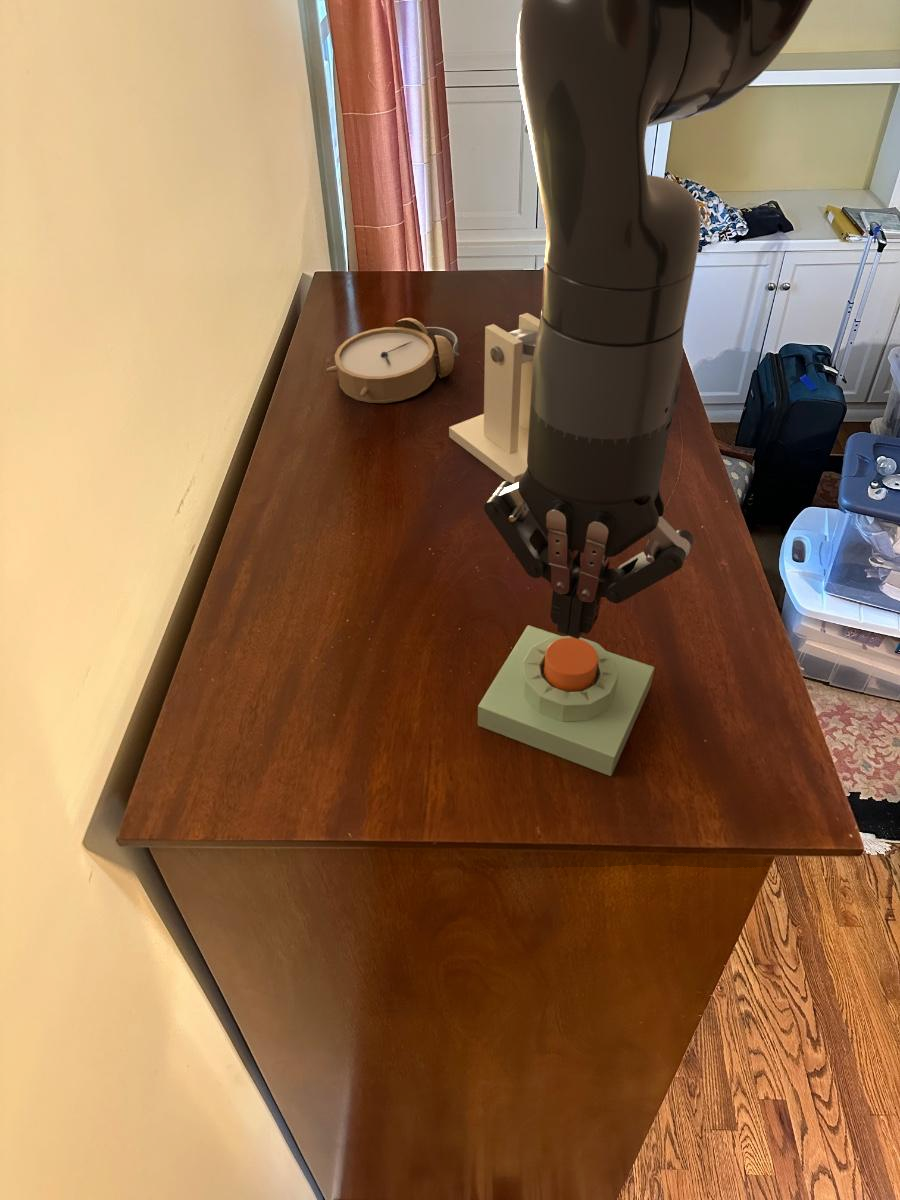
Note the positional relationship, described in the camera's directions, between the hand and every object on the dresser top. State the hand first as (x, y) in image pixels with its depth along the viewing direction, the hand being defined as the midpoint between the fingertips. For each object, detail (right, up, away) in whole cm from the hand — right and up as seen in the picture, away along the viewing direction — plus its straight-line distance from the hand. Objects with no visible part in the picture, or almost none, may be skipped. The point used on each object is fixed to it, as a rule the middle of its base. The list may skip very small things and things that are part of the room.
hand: (573, 628), depth 57 cm
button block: (0, -6, +6) cm, 8 cm away
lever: (+1, +23, +20) cm, 30 cm away
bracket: (-2, +18, +31) cm, 35 cm away
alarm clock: (-14, +28, +42) cm, 52 cm away
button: (0, -3, +3) cm, 4 cm away
